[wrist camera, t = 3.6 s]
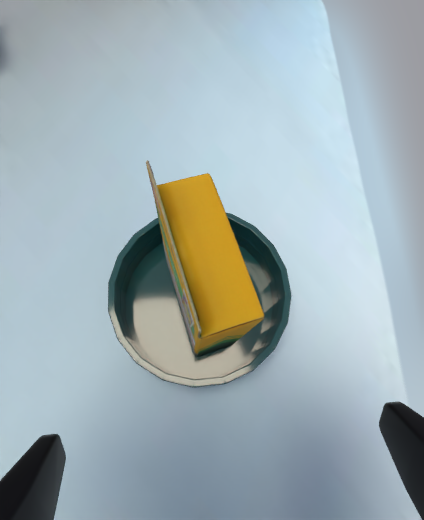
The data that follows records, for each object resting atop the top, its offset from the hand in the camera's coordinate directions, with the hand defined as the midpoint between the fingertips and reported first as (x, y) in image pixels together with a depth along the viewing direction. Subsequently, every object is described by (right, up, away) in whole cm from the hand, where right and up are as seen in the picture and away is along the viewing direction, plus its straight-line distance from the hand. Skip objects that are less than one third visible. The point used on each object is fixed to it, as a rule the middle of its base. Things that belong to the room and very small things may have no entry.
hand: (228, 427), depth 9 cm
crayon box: (-1, +2, +14) cm, 14 cm away
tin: (-1, +2, +14) cm, 14 cm away
